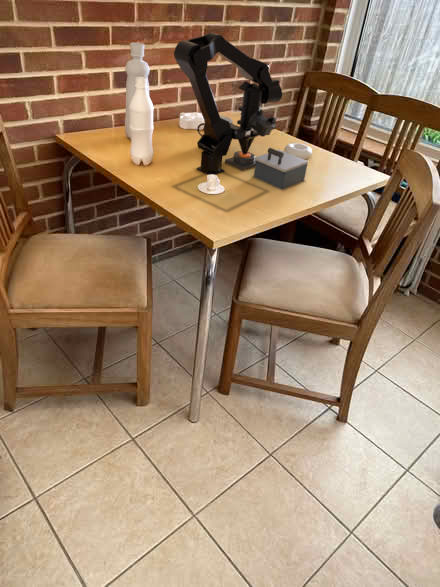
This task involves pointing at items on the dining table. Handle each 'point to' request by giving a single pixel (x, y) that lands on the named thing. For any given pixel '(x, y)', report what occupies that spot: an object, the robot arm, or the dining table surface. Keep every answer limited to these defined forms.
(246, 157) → the button
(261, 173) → the dark grey case
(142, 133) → the water bottle
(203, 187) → the teacup and saucer
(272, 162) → the grey box lid
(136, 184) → the dining table surface
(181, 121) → the white egg tray
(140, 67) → the bottle
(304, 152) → the donut
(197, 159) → the dining table surface
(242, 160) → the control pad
